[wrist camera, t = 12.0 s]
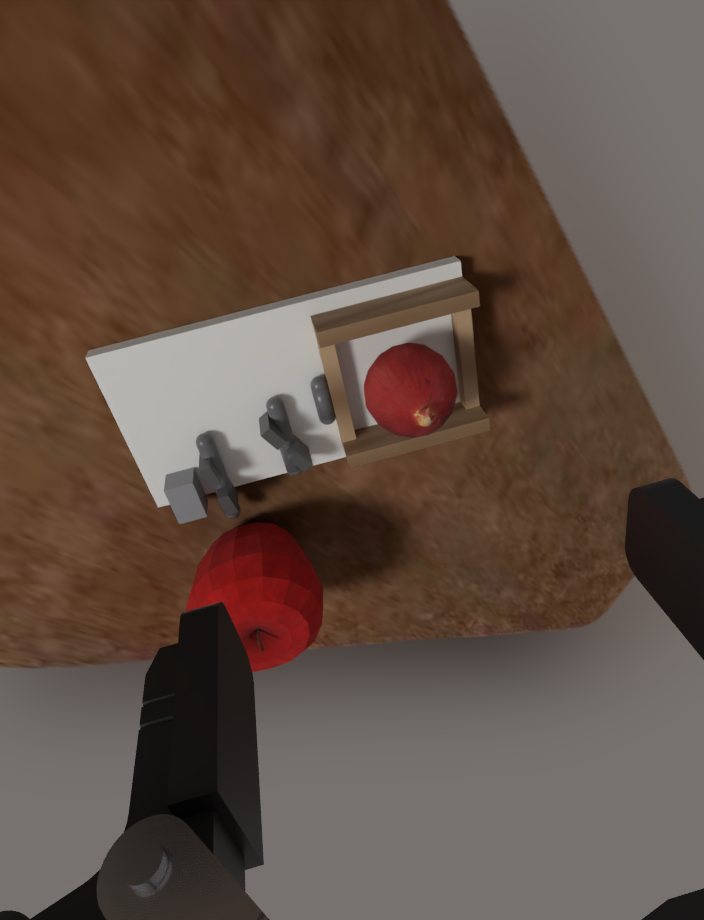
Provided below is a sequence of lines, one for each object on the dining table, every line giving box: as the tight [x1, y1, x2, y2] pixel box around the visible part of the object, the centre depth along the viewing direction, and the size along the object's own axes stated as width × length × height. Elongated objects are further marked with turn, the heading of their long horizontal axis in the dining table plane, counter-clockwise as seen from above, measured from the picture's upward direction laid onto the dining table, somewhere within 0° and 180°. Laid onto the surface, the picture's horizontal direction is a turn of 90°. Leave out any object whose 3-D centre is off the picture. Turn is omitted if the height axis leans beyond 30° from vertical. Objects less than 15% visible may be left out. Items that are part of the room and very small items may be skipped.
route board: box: [86, 256, 462, 524], centre depth 41 cm, size 14×24×4 cm, turn 102°
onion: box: [364, 343, 457, 438], centre depth 38 cm, size 6×6×8 cm
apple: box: [186, 522, 323, 672], centre depth 45 cm, size 10×10×11 cm
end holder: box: [311, 277, 490, 468], centre depth 40 cm, size 10×10×3 cm
